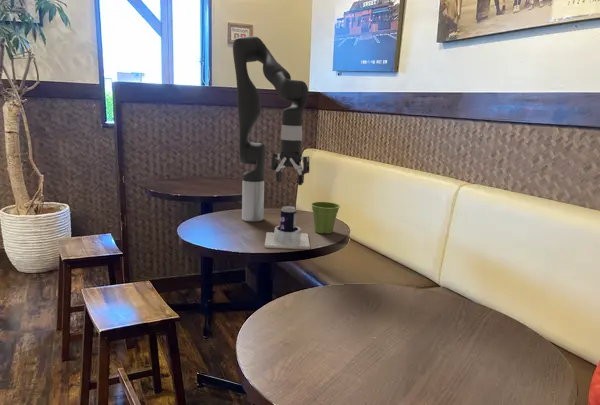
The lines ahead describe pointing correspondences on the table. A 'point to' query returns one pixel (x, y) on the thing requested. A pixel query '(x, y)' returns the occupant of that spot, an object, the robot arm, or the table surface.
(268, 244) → the metal collar
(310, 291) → the table surface
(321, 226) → the plant pot
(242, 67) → the robot arm
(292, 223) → the beverage can
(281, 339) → the table surface
